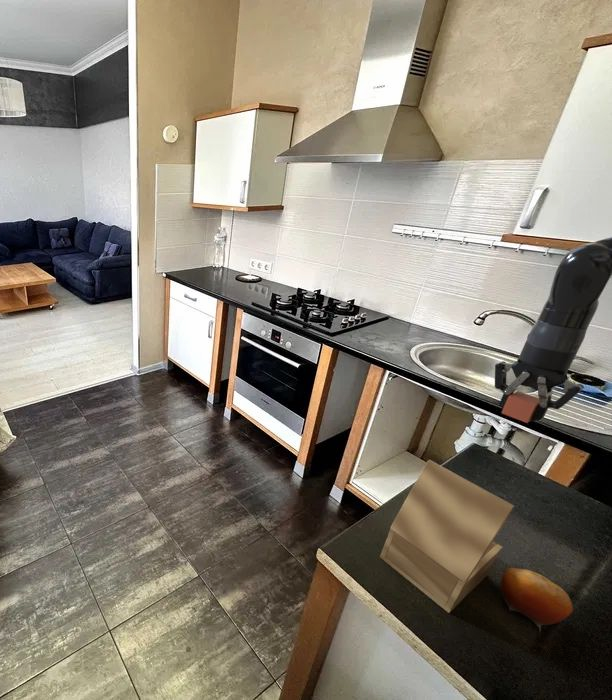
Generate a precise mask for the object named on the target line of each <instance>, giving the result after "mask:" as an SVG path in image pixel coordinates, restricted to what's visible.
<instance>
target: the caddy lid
mask: <svg viewBox="0 0 612 700" xmlns="http://www.w3.org/2000/svg"><path fill="white" fill-rule="evenodd" d="M408 493H409V494H408V495H407V497H406V499H405V500H404V502H403V504H402V506H401V508H400V509H399V511H398V513H397V515H396V517H395V518H394V520H393V522H392V524H391V525H390V530H391V529H392V530H393V531H395V532H396V533H398V534H399V535H400V536H402V537H403V538H404V539H406V540H407V541H408V542H410V543H411V544H413V545H414V546H415V547H417V548H418V549H419V550H421V551H422V552H423V553H425V554H426V555H427V556H429V557H430V558H432V559H433V560H434V561H436V562H437V563H438V564H440V565H441V566H442V567H444V568H445V569H447V570H448V571H449V572H451V573H452V574H453V575H455V576H456V577H457V578H459V579H460V580H462V581H463V582H464V583H465V582H467V580H468V579H469V577H470V576H471V574H472V573H473V571H474V569H475V568H476V566H477V565H478V563H479V562H480V560H481V559H482V557H483V555H484V554H485V552H486V551H487V549H488V548H489V546H490V545H491V543H492V542H493V541H494V540H495V538H496V537H497V536H498V534H499V533H500V531H501V529H502V527H503V526H504V525H505V523H506V522H507V520H508V518H509V517H510V515H511V514H512V512H513V511H514V509H515V508H516V506H515V505H514V504H512V503H510V502H509V501H506V500H505V499H503V498H501V497H499V496H497V495H496V494H494V493H492V492H490V491H488V490H486V489H485V488H483V487H481V486H479V485H477V484H476V483H473V482H472V481H469V480H468V479H466V478H464V477H462V476H460V475H458V474H457V473H456V472H453V471H451V470H449V469H448V468H446V467H444V466H443V465H440V464H438V463H437V462H435V461H434V460H431V459H428V460H427V461H426V463H425V465H424V466H423V468H422V470H421V472H420V474H419V475H418V477H417V479H416V481H415V483H414V484H413V486H412V488H411V490H410V491H409V492H408Z"/></svg>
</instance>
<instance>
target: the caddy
mask: <svg viewBox="0 0 612 700" xmlns="http://www.w3.org/2000/svg"><path fill="white" fill-rule="evenodd" d="M503 549H504V548H503V546H502V545H501V544H498V543H497V542H495V541H494V540H493V542H492V543H491V545H490V546H489V548H488V549H487V551H486V552H485V554H484V555H483V557H482V559H481V560H480V562H479V563H478V565H477V566H476V568H475V569H474V571H473V573H472V574H471V576H470V577H469V579H468V580H467V582H465V583H464V582H463V581H462V580H460V579H459V578H457V577H456V576H455V575H453V574H452V573H451V572H449V571H448V570H447V569H445V568H444V567H442V566H441V565H440V564H438V563H437V562H436V561H434V560H433V559H432V558H430V557H429V556H427V555H426V554H425V553H423V552H422V551H421V550H419V549H418V548H417V547H415V546H414V545H413V544H411V543H410V542H408V541H407V540H406V539H404V538H403V537H402V536H400V535H399V534H398V533H396V532H395V531H393V530H392V529H391V528H390V529H389V531H388V534H387V537H386V539H385V542H384V545H383V548H382V550H381V553H380V554H379V555H380V556H379V558H380V559H381V560H383V561H384V562H385V563H386V564H387V565H389V566H390V567H391V568H392V569H393V570H395V571H396V572H397V573H398V574H400V575H401V576H402V577H403V578H405V579H406V580H407V581H409V583H411V584H412V585H413V586H415V587H416V588H417V589H418V590H420V591H421V592H422V593H423V594H424V595H426V596H427V597H428V598H429V599H431V600H432V601H433V602H434V603H436V605H438V606H439V607H441V608H442V609H443V610H444V611H446V612H447V614H450V613H451V612H452V611H453V610H454V609H456V607H457V606H458V605H459V604H460V603H461V602H462V601H463V600H464V599H465V598H466V597H467V596H468V595H469V594H470V593H471V592H472V591H473V590H474V589H475V588H476V587H477V586H478V585H479V584H480V583H481V582H482V581H483V580H484V579H485V578H486V577H487V576H488V575H489V573H490V571H491V569H492V568H493V566H494V564H495V562H496V560H497V558H498V557H499V555H500V553H501V552H502V550H503Z"/></svg>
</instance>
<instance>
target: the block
mask: <svg viewBox="0 0 612 700" xmlns="http://www.w3.org/2000/svg"><path fill="white" fill-rule="evenodd" d="M538 405H539V397H538V396H533V395H531V394H529V393H525V392H522V391H519V390H516V391H515V392H514V393H513V394H512V395H510V396H509V397H508V399H507V402H506V404H505V406H504V408H503V409H501V410H502V411H501V414H502V415H505V416H507V417H510V418H513V419H515V420H518V421H521V422H523V423H526V424H528V423H530V422H532V420H531V418H532V416H533V414H534V411H535V409H536V407H537V406H538Z"/></svg>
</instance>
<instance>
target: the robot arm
mask: <svg viewBox="0 0 612 700" xmlns="http://www.w3.org/2000/svg"><path fill="white" fill-rule="evenodd" d="M554 273H555V274H554V275H553V279H552V284H551V287H550V289H549V290H550V291H549V295H548V297H547V299H546V301H545V302H544V304H543V306H542V308H541V311H540V312H539V315H538V317H537V319H536V321H535V323H534V324H533V325H532V327H531V330H530V331H529V333H528V334H527V337H526V340H525V343H524V345H523V347H522V349H521V351H520V354H519V356H518V357H517V360H516V361H515V362H513V363H512V362H511V363H510V362H506V361H504V360H503V361H499V362H497V363H496V364H494V389H497V390H500V391H501V393H503V394H502V396H501V398H500V401H499V403H498V404H499V405H498V406H499V407H500V409H501V410H503V408H504V406H505V404H506V402H507V399H508V397H509V396H510V395H512V394H513V393H515V392H517V391H518V389H519V388H520V387H527V388H531V389H533V390H535V391H537V398H539V405H538V406H537V407H536V409H535V411H534V414H533V416H532V418H531V422H534V423H535V422H537V421H540V420H542V419H544V417H545V416H546V414H547V412H548V410H549V409H554V410H559V409H561V408H563V407H564V406H565V405H566V404H568V403H569V402H570V401H571V400H572V399H573V398H575V396H577V395H578V394H579V393H580V392H581V391H583V390H584V389H585V386H584V385H583V384H581V383H577V384H576V383H575V382H573V381H571V380H570V379H569V377H568V371H569V370H570V368H571V366H572V365H573V362H574V361H575V358H576V356H577V354H578V352H579V350H580V348H581V346H582V344H583V342H584V340H585V338H586V334H587V330H588V328H589V326H590V325H591V322H592V320H593V318H594V316H595V314H596V312H597V310H598V306H599V299H600V297H601V295H602V294H603V292H604V289H606V286H607V285H608V283H609V280H610V279H611V277H612V236H610V237H607V238H603V239H600V240H596V241H593V242H592V241H591V242H588V243H585V244H582V245H579V246H576V247H574V248H572V249H570V250H569V251H568V252H566V254H564V256H563V257H562V258H561V259H560V262H559V263H558V266H557V268H556V270H555V272H554ZM511 370H512V372H513V374H514V376H515V380H513V381H511V383H510V384H509V385H508V384H507V374H508V372H510V371H511ZM561 385H563V386H564V387H563V388H562V391H563V392H564V394H562V395H561V396H560V397H559V398H558V399H556V400H553V399H552V395H553V389H554V388H555V387H558V386H561Z"/></svg>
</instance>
